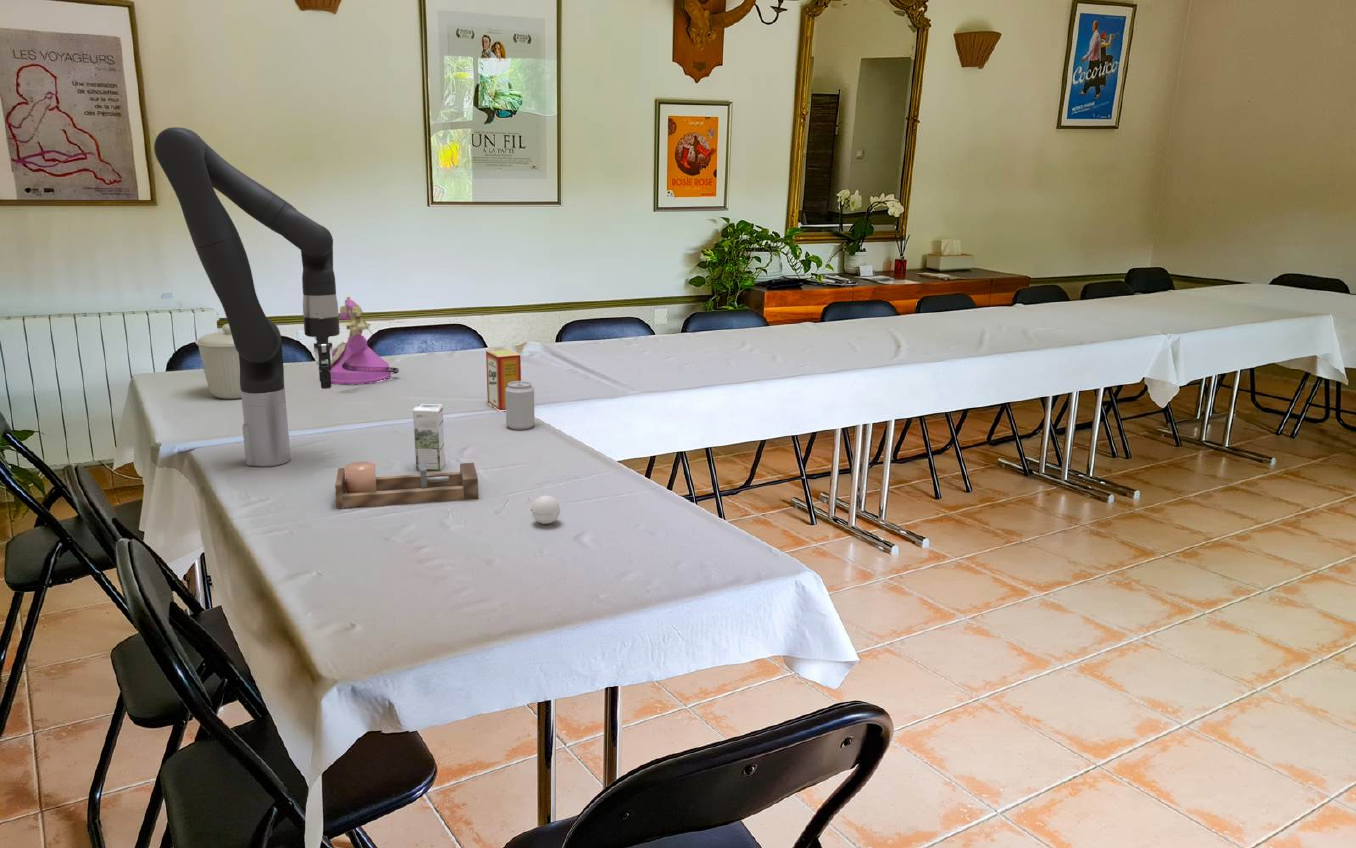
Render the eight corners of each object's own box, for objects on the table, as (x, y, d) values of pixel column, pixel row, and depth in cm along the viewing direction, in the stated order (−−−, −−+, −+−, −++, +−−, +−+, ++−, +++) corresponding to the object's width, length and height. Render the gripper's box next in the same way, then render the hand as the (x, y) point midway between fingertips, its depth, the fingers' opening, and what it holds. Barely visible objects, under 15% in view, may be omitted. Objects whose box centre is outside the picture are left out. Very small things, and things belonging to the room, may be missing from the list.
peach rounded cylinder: (346, 503, 200) (344, 471, 198) (347, 494, 205) (345, 462, 203) (376, 501, 201) (374, 469, 199) (377, 492, 207) (375, 460, 205)
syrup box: (445, 463, 227) (443, 403, 223) (440, 471, 221) (438, 409, 217) (421, 463, 226) (418, 402, 223) (415, 471, 221) (412, 409, 217)
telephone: (319, 372, 315) (313, 295, 308) (390, 367, 324) (386, 292, 318) (331, 397, 284) (324, 312, 277) (409, 391, 293) (405, 308, 287)
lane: (336, 508, 197) (335, 485, 195) (340, 490, 207) (338, 468, 206) (478, 498, 204) (477, 476, 203) (474, 481, 215) (473, 460, 213)
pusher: (421, 497, 203) (420, 470, 201) (421, 487, 209) (419, 460, 208) (450, 495, 205) (448, 468, 203) (448, 485, 211) (447, 458, 209)
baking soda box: (487, 404, 280) (486, 349, 276) (509, 401, 283) (507, 347, 279) (499, 412, 272) (498, 355, 268) (521, 409, 275) (520, 353, 271)
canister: (252, 403, 275) (245, 330, 269) (189, 401, 275) (181, 328, 270) (279, 388, 292) (273, 319, 287) (219, 387, 293) (212, 317, 287)
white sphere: (546, 515, 196) (546, 489, 194) (566, 522, 192) (566, 496, 191) (517, 526, 190) (516, 499, 188) (537, 533, 186) (537, 506, 185)
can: (507, 431, 253) (506, 386, 250) (504, 424, 260) (503, 380, 257) (536, 430, 255) (535, 385, 252) (532, 422, 262) (532, 379, 259)
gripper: (302, 311, 225) (307, 380, 228) (303, 318, 212) (308, 391, 215) (337, 310, 227) (341, 379, 231) (340, 317, 215) (344, 389, 218)
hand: (325, 385), depth 223 cm, fingers open, 8 cm apart
